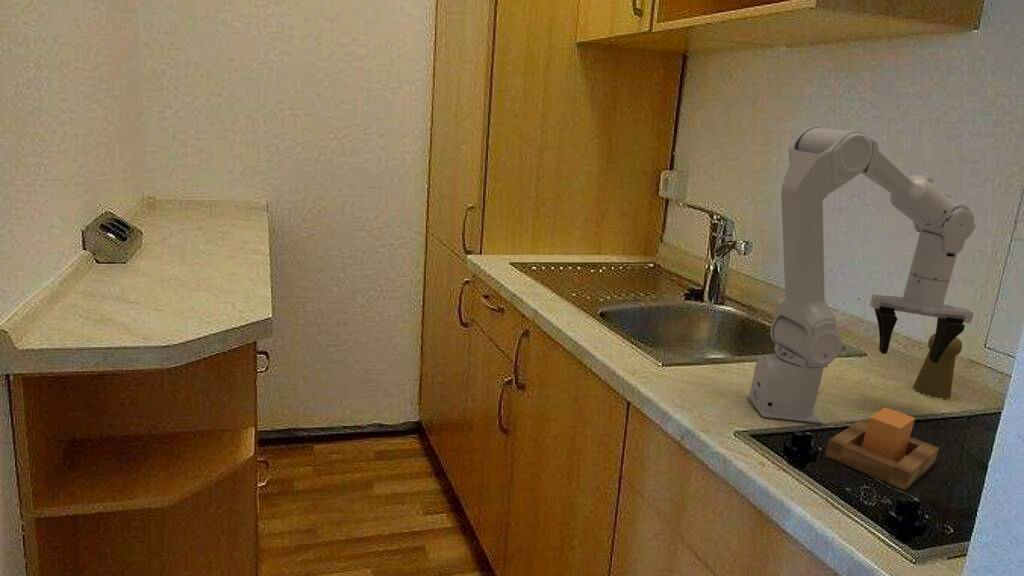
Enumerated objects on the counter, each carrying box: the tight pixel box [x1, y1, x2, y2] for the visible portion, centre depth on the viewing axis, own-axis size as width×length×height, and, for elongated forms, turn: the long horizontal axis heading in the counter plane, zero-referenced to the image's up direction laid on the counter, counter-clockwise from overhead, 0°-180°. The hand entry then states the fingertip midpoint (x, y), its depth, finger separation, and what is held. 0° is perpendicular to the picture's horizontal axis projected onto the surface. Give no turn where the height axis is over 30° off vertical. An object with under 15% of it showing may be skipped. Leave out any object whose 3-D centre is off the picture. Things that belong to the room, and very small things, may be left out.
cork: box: [912, 333, 963, 400], centre depth 126 cm, size 6×6×11 cm
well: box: [824, 418, 940, 491], centre depth 98 cm, size 12×10×2 cm
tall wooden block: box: [862, 407, 916, 462], centre depth 97 cm, size 6×4×6 cm, turn 134°
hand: (907, 356), depth 115 cm, fingers open, 7 cm apart
